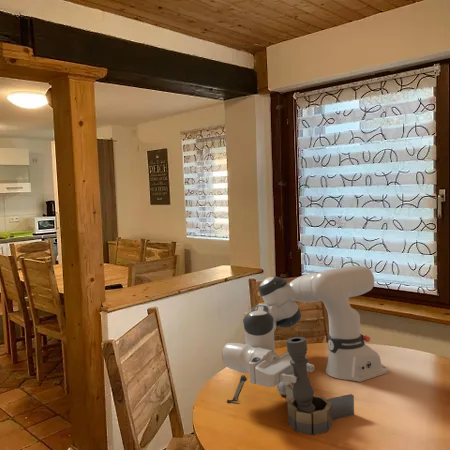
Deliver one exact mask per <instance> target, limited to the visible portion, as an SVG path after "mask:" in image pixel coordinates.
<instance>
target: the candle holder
mask: <svg viewBox="0 0 450 450" xmlns="http://www.w3.org/2000/svg"><path fill="white" fill-rule="evenodd" d="M285 343H286V350H287V351H286V352H288V353H289V355H290V356H291V358H292V359H291V360H290V364H291V365H292V366H293V371H294V375H297V376H298V381H297V382H296V383H292V384H293V397H294V398H295V400H296V401H297V403H298V405H297V407H296V408H297V409H298V410H303V411H308V412H315V411H316V410H315V406H314V405H313V404H312V399H313V397H314V395H315V390H314V387H313V385H312V383H311V380H310V379H311V378H310V377H309V375H308V371H307V367H306V365H307V363H309V359H308V357H307V358H305V356H307V352H308V345H307V344H308V343H307V338H306V337H304V336H294V337H289V338H288V339H286V341H285Z"/></svg>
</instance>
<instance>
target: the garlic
mask: <svg viewBox="0 0 450 450" xmlns="http://www.w3.org/2000/svg"><path fill="white" fill-rule="evenodd" d="M288 384H290V385H291V386H292V387H293V384H294V383H292V382H281V383H279V384H277V385H276V388H277V392H278V394H281V395H282V396H286V385H288Z"/></svg>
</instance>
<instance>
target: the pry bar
mask: <svg viewBox="0 0 450 450" xmlns="http://www.w3.org/2000/svg"><path fill="white" fill-rule="evenodd" d="M246 379H247V376H246V375H241V376H240V379H239V382H238V384H237V387H236V390H235V392H234V395H233V397H232V399H227V400H226V403H227V404H236V405H240V404H241V403H240V402H238V401H239V398H238V396H239V395H240V392H241V389H242V388H243V386H244V383H245V381H246Z"/></svg>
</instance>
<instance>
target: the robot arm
mask: <svg viewBox="0 0 450 450" xmlns="http://www.w3.org/2000/svg"><path fill="white" fill-rule="evenodd" d="M287 281H288V280H287V279H286V278H284V277H283V278H282V277H281V276H280V277H279V276H274V275H273V276H271V277H270V276H269V277H266V278H265V279H263V280H262V281H261V282H260V284H259V285H258V293H259V295H260V296H261V297H262V300H263V301H264V303H259V304H256V305H254V306H252V308H251V310H250V312H248V313H247V314H246V315H245V316H244V317H243V319H242V322H243V323H242V324H243V328H244V337H245V339H244V340H245V343H239V342H227V343H226V344H225V345H224V347H223V349H222V353H221V354H222V355H221V356H222V363H223V364H224V365H225V366H226V367H227V368H229V369H231V370H233V371H235V372H238V373H242V374H248V378H249V379H248V380H249V383H250V384H251V385H252V384H253V385H259V386H263V387H266V388H274V387H277V384H279V383H281V382H291V383H292V384H294V383H296V382H297V381H298V376H297V375H294V371H293V366H292V365H291V364H290V360H291V359H292V358H291V356H290V355H289V353H288V351H284V352H282V353H281V354H279V355H278V354H277V352H276V346H275V344H276V342H275V331H276V329H277V327H280V328H287V329H288V328H291V327H293V326H295V325H296V324H297V323H298V322H300V321H301V318H302V312H301V310H300V308H299V307H298V305H297V302H300V303H313V302H314V303H315V302H322V304H324V306H325V308H326V311H327V316H328V331H329V332H328V335H327V345H328V347H327V348H328V357H327V364H326V367H325V373H326V374H327V375H328V376H330V377H331V378H336V379H339V380H345V381H346V380H347V381H354V382H357V383H358V382H363V381H367V380H369V379H372V378H373V379H374V378H375V377H379V376H381V375H385V374H388V373H389V369H388V367H387V366H386V365H384V364H383V363H382V361H381V357H380V354H378V352H377V351H376V350H374V349H373V348H371V347H370V346H369V345H367V344H366V343H370V341H371V337H370V336H368V335H367V334H365V335H363V334H362V333H361V315H360V314H359V312H358V311H357V310H356V309H354V307H351V304H350V298H352V297H357V296H361V295H364V294H366V293H368V292H370V291H371V290H372V289H373V288H374V286H375V276H374V273H373V272H372V270H371V269H370V268H368V267H367V266H362V265H350V266H349V265H348V266H343V267H337V268H331V269H326V270H324V271H318V272H313V273H307V274H304V275H301V276H298V277H296V278H294V279H293V280H291V281H290V282H287ZM296 301H297V302H296ZM365 342H366V343H365ZM305 358H307V359H308V357H307V355H306V356H305ZM306 367H307V372H310V373H311V372H313V371H315V365H314V364H311V363H309V362H308V363H307V365H306Z"/></svg>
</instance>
